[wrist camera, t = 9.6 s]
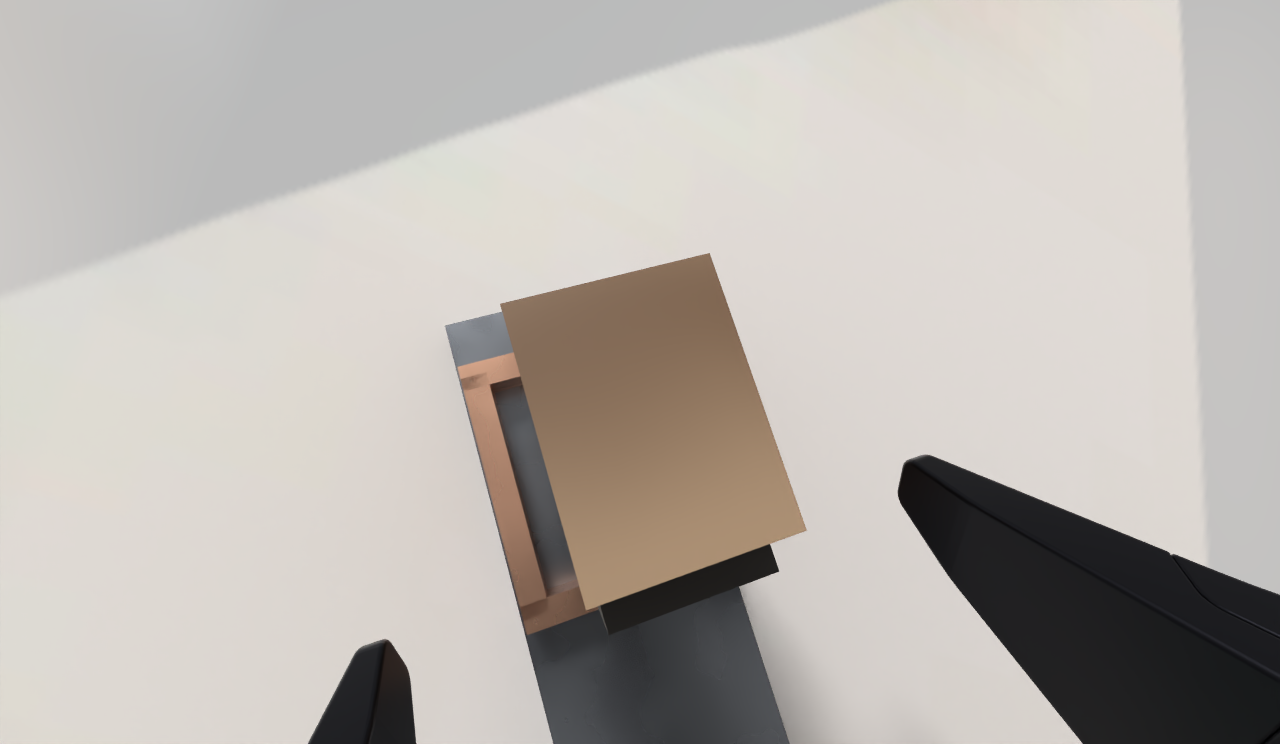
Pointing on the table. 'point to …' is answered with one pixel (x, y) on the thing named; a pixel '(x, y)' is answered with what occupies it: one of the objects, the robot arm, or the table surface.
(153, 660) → the table surface
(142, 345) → the table surface
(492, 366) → the rail
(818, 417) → the table surface
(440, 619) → the table surface
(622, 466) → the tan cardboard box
